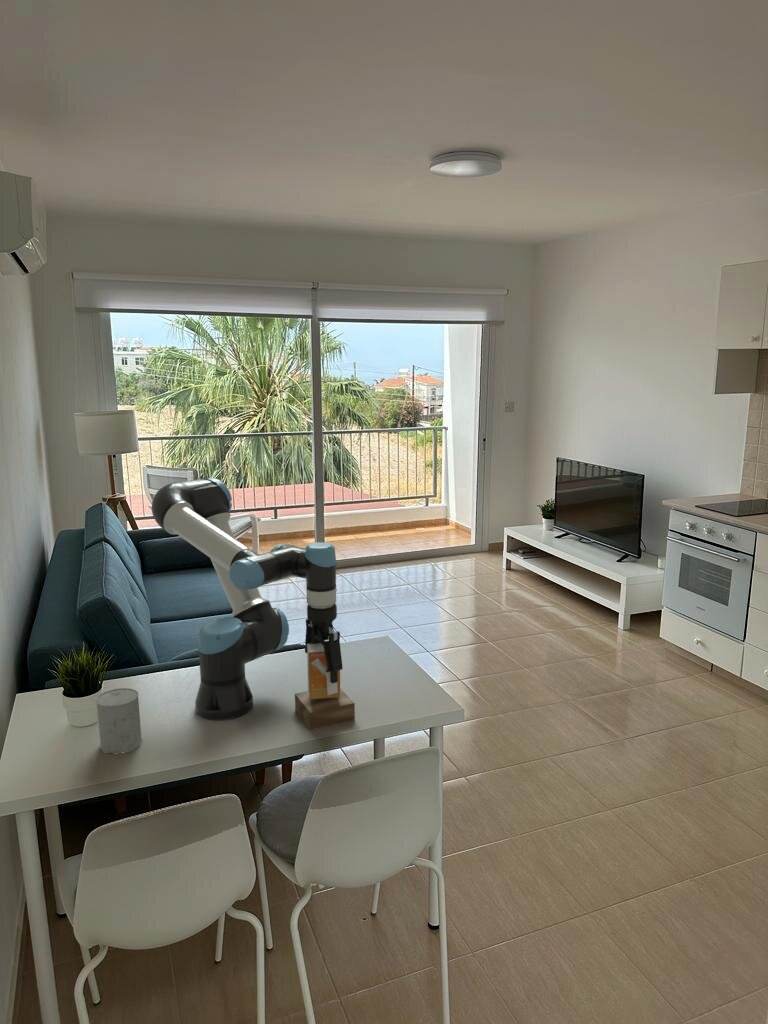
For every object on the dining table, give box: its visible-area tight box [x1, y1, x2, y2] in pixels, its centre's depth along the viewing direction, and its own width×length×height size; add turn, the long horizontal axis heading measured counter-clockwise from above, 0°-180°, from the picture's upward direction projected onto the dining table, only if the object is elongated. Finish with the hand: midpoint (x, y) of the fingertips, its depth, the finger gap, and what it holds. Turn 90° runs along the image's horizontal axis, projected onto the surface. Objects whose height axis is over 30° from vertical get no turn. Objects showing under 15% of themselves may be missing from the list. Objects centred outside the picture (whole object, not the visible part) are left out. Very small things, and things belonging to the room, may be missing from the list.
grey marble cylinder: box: [95, 687, 143, 755], centre depth 175 cm, size 10×10×12 cm
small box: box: [306, 643, 341, 699], centre depth 188 cm, size 8×6×13 cm
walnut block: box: [294, 688, 356, 731], centre depth 190 cm, size 12×12×5 cm
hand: (323, 687), depth 189 cm, fingers closed on small box, 8 cm apart
